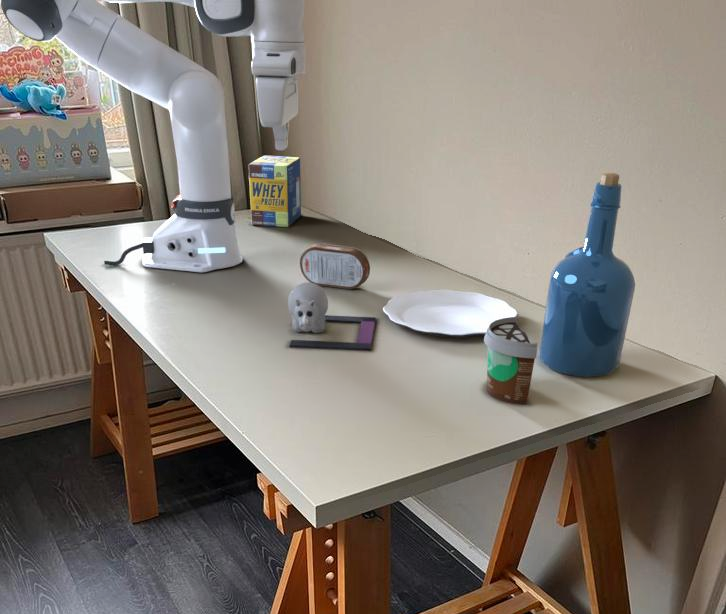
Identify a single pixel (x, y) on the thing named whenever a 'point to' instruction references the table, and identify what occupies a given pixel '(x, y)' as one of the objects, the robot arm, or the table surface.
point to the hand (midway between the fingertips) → (281, 149)
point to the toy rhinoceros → (308, 307)
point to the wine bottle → (589, 296)
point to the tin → (334, 266)
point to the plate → (447, 312)
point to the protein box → (275, 190)
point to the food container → (509, 361)
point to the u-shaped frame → (362, 342)
